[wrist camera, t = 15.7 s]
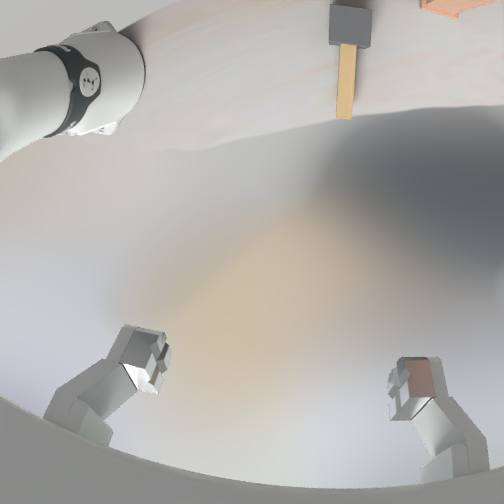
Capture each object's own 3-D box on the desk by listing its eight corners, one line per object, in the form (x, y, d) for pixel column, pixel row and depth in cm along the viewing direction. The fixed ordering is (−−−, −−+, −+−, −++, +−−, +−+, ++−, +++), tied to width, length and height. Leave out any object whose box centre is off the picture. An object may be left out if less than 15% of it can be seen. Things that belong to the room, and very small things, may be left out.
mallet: (325, 111, 37) (324, 118, 33) (329, 12, 30) (329, 4, 25) (359, 116, 37) (363, 124, 32) (365, 17, 29) (371, 9, 24)
